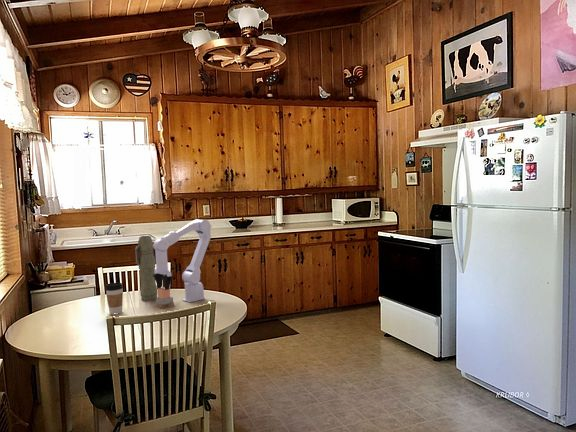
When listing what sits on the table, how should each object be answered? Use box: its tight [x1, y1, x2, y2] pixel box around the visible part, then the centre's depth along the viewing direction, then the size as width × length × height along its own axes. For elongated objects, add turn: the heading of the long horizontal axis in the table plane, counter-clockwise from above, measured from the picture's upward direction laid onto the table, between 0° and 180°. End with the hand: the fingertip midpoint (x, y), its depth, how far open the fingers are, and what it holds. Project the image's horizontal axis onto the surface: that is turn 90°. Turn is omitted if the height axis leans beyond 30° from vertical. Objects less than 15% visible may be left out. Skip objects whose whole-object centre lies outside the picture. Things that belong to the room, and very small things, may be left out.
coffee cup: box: [104, 282, 124, 315], centre depth 230 cm, size 8×8×15 cm
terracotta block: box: [157, 286, 171, 299], centre depth 238 cm, size 4×4×5 cm
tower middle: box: [155, 296, 174, 305], centre depth 238 cm, size 6×6×2 cm
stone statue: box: [134, 235, 158, 302], centre depth 254 cm, size 9×12×35 cm
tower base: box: [154, 301, 175, 310], centre depth 239 cm, size 7×7×2 cm
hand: (163, 288), depth 238 cm, fingers open, 7 cm apart
